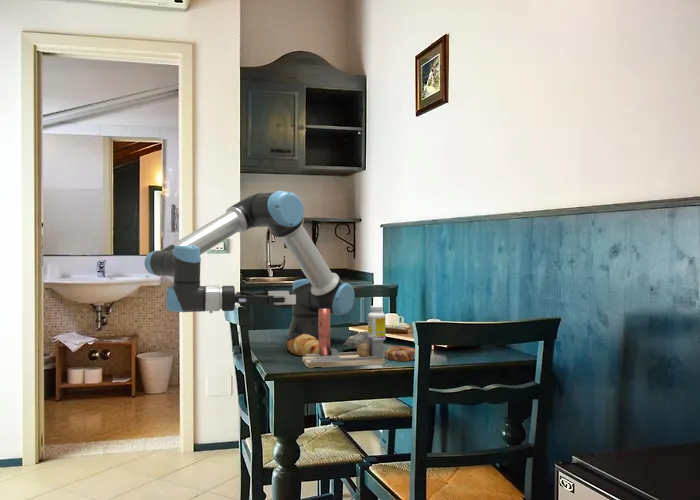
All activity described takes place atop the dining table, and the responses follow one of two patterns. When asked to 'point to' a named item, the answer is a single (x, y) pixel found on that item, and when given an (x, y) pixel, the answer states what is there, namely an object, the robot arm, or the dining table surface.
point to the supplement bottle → (377, 322)
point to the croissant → (303, 345)
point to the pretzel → (400, 353)
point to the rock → (357, 339)
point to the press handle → (325, 336)
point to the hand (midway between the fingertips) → (292, 297)
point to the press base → (352, 356)
